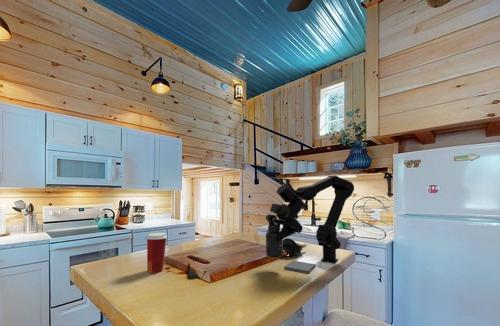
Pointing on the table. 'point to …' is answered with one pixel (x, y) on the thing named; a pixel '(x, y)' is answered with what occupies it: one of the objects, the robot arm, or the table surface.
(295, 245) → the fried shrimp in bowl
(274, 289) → the table surface
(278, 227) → the supplement bottle
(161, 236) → the paper cup
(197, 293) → the table surface
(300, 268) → the mat
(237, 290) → the table surface
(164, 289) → the table surface
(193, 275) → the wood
